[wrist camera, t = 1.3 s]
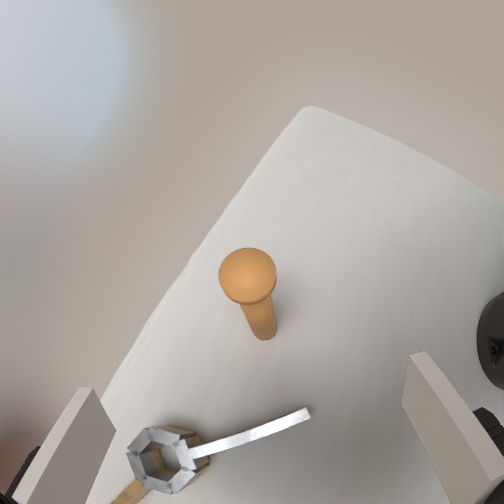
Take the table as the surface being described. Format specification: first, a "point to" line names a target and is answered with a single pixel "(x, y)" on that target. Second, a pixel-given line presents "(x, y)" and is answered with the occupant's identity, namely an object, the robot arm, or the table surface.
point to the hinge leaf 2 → (192, 450)
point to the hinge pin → (251, 288)
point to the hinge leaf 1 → (136, 491)
